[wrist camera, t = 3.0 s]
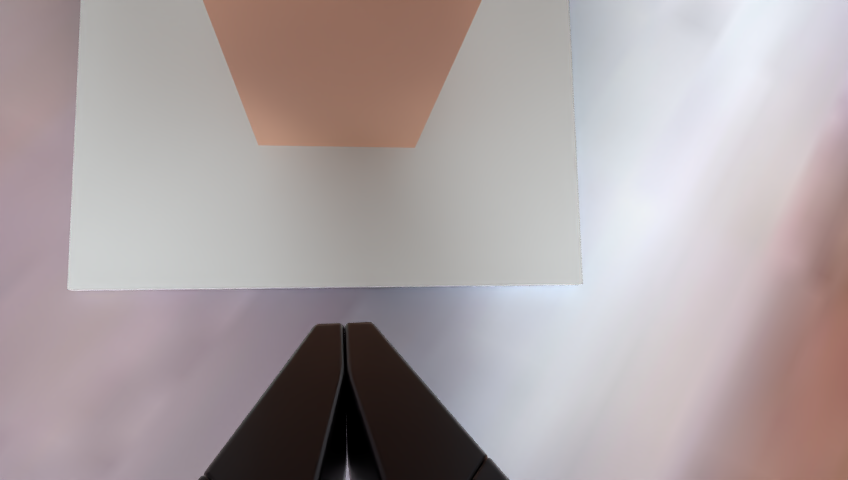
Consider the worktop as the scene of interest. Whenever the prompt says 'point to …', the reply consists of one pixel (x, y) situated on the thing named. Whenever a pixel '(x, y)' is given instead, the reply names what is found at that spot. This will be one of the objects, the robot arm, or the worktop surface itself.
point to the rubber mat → (319, 167)
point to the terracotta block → (340, 66)
